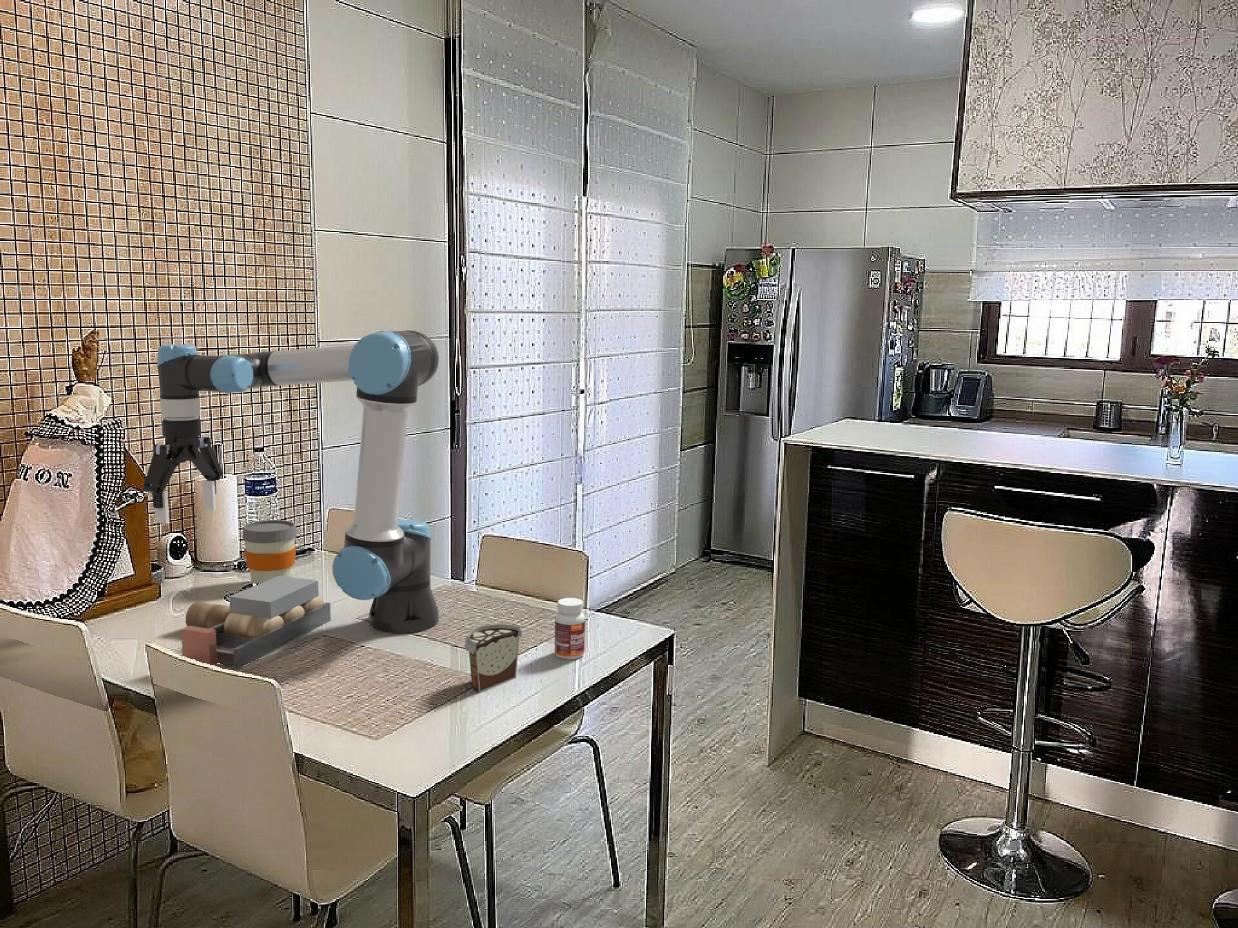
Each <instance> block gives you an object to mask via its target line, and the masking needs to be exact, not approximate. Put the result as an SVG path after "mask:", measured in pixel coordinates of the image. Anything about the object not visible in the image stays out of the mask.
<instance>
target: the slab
mask: <svg viewBox="0 0 1238 928" xmlns="http://www.w3.org/2000/svg"><path fill="white" fill-rule="evenodd" d="M318 596H320V594H319V580H317V579H316V580H315V579H308V578H300V577H293V576H291V577H286V576H277V577H275V578H273V579H270V580H268V581H265V582H263V583H261V584H258V585H256V586H252V587H249V588H246V589H244V590H242V591H240V592H237V593H235V594H232V595H230V596H229V598H228V599H229V606H230V613H235V614H242V615H248V616H255V617H262V618H269V619H272V618H274V617H276V616H278V615H280V614H282V613H284V612H286V611H288V610H291V609H293V608H295V607H297V606H299V605H301V604H303V603H305V602H307V601H309V600H311V599H313V598H316V597H318Z"/></svg>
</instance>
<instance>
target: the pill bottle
mask: <svg viewBox="0 0 1238 928" xmlns="http://www.w3.org/2000/svg"><path fill="white" fill-rule="evenodd" d="M583 610H584V602H583V600H582V599H580V598H577V597H576V598H575V597H564V598H561V599H559V600H558V601H557V611H558V612H557V613H556V614H555V616H554V655H555V656H556V657H557V658H559V659H561V660H562V659H563V660H569V661H571V660H572V661H573V660H577V659H580V658H582V657H584V655H585V650H586V649H585V648H586V646H585V645H586V644H585V640H586V616H585V614H584V613H583Z"/></svg>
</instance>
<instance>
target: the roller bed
mask: <svg viewBox="0 0 1238 928" xmlns="http://www.w3.org/2000/svg"><path fill="white" fill-rule="evenodd" d="M331 615H332V614H331V602H324V604H322V605H320V606H318V607H316V608H314V609H312V610H310V611H308V612H306V613H304V614H302V615H300V616H298V617H296V618H294V619H292V620H290V621H288V622H286V623H284V624H282V625H280V626H278V627H276V628H274V629H272V630H270V631H268V632H266V633H264V634H262V635H260V636H258V637H251V636H244V635H238V634H231V633H225V632H224V624H225V621H224V622H222V623H220V624H218V625H215V626H213V627H211V628H209V629H207V628H201V627H194V626H188V627H187V626H186V627H184V628H182V629H181V633H182V634H181V636H182V640H181V650H182V651H181V652H182V657H183V656H185V657H187V658H190V659H195V660H196V661H199V662H202V663H207V664H210V665H215V666H218V665H219V664H217V663H220V664H223V665H222V666H225V665H227V666H228V667H233V670H240V669H242V668H243V666H244V665H246V664H248V663H249V664H251V663H253V662H255V661H257V660H258V659H261V658H262V657H264V656H267V655H268V654H270V653H272V652H274V651H275V650H277V649H280V648H281V647H283V646H285V645H287V644H289V643H291V642H293V641H294V640H297V639H298V638H300V637H301V636H304V635H306V634H308V633H309V632H311V631H313V630H316V629H317V628H319V627H321V626H322V625H325V624H326V623H328V622H330V621H331ZM218 647H224V648H230V649H231V648H232V649H233V650H232V651H231V650H223V649H218ZM256 659H257V660H256ZM252 661H253V662H252ZM249 664H248V665H249ZM227 666H226V667H227ZM246 666H247V665H246ZM218 667H219V666H218ZM241 667H242V668H241ZM244 667H245V666H244ZM235 668H236V669H235Z"/></svg>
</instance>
